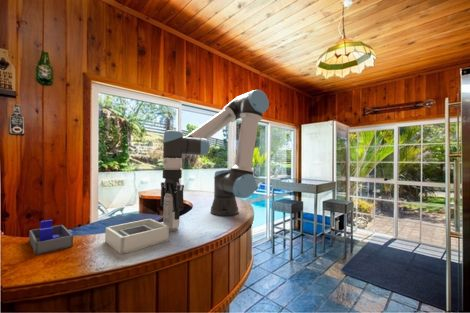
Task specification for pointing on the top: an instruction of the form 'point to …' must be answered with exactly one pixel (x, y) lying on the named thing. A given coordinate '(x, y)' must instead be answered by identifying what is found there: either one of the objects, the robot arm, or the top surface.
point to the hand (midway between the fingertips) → (171, 225)
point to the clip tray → (53, 244)
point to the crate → (136, 235)
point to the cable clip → (47, 231)
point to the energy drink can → (168, 211)
